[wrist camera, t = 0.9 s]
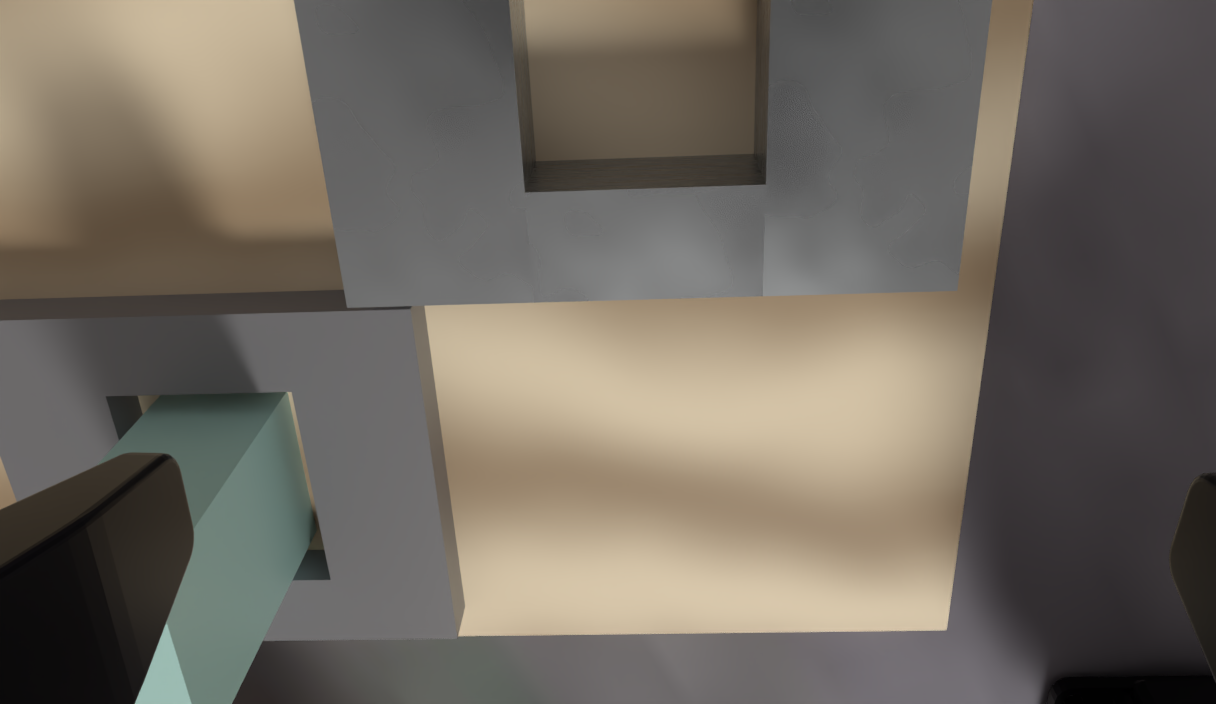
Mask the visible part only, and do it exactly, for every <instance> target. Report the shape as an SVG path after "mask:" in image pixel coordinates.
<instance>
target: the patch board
mask: <svg viewBox="0 0 1216 704" xmlns="http://www.w3.org/2000/svg"><path fill="white" fill-rule="evenodd" d="M1033 1H1034V0H992V7H991V15H990V24H989V32H988V40H987V49H986V57H985V65H984V73H983V82H982V90H981V98H980V107H979V115H978V123H977V131H976V140H975V148H974V156H973V165H972V173H971V181H970V189H969V198H968V206H967V214H966V222H965V231H964V239H963V247H962V256H961V264H960V272H959V280H958V289H957V291H936V292H900V293H864V294H828V295H792V296H756V297H720V298H684V299H648V300H612V301H576V302H540V303H504V304H468V305H432V306H424V307H425V315H426V322H427V329H428V337H429V344H430V351H431V359H432V366H433V373H434V381H435V388H436V395H437V403H438V410H439V418H440V425H441V432H442V440H443V447H444V454H445V462H446V469H447V476H448V484H449V491H450V498H451V506H452V513H453V520H454V528H455V535H456V543H457V550H458V557H459V565H460V572H461V579H462V587H463V594H464V601H465V609H464V614H463V618H462V622H461V626H460V630H459V635H458V636H514V635H598V634H681V633H765V632H849V631H932V630H947V623H948V616H949V609H950V602H951V594H952V587H953V580H954V573H955V565H956V558H957V551H958V544H959V536H960V529H961V522H962V515H963V507H964V500H965V493H966V486H967V478H968V471H969V464H970V457H971V449H972V442H973V435H974V428H975V421H976V413H977V406H978V399H979V392H980V384H981V377H982V370H983V363H984V355H985V348H986V341H987V334H988V326H989V319H990V312H991V305H992V297H993V290H994V283H995V276H996V268H997V261H998V254H999V247H1000V240H1001V232H1002V225H1003V218H1004V211H1005V203H1006V196H1007V189H1008V182H1009V174H1010V167H1011V160H1012V153H1013V145H1014V138H1015V131H1016V124H1017V116H1018V109H1019V102H1020V95H1021V87H1022V80H1023V73H1024V66H1025V59H1026V51H1027V44H1028V37H1029V30H1030V22H1031V15H1032V8H1033ZM524 9H525V23H526V36H527V49H528V62H529V75H530V88H531V101H532V114H533V127H534V140H535V153H536V161H558V160H587V159H616V158H645V157H674V156H703V155H732V154H754V123H755V77H756V31H757V0H524ZM318 290H344V287H343V281H342V276H341V270H340V264H339V258H338V253H337V247H336V241H335V235H334V230H333V224H332V218H331V212H330V207H329V201H328V195H327V189H326V183H325V178H324V172H323V166H322V160H321V155H320V149H319V143H318V137H317V132H316V126H315V120H314V114H313V109H312V103H311V97H310V91H309V85H308V80H307V74H306V68H305V62H304V57H303V51H302V45H301V39H300V34H299V28H298V22H297V16H296V11H295V5H294V0H0V300H4V299H39V298H74V297H108V296H143V295H178V294H213V293H248V292H283V291H318ZM159 396H160V395H142V396H138V399H139V402H140V406H141V409H142V413H143V414H144V413H145V412H146V411H147V410H148V408H149V407H150V406H151V405H152V404H153V403H154V402H155V401H156V400H157V399H158V398H159ZM288 396H289V401H290V406H291V411H292V415H293V420H294V425H295V430H296V434H297V439H298V444H299V449H300V453H301V458H302V463H303V468H304V472H305V477H306V482H307V487H308V491H309V496H310V501H311V506H312V510H313V515H314V520H315V524H316V529H317V531H316V533H315V535H314V537H313V539H312V541H311V543H310V545H309V547H308V549H307V550H324V545H323V540H322V536H321V531H320V526H319V521H318V516H317V512H316V507H315V502H314V497H313V493H312V488H311V483H310V478H309V473H308V469H307V464H306V459H305V454H304V449H303V445H302V440H301V435H300V430H299V426H298V421H297V416H296V411H295V406H294V402H293V397H292V392H288ZM15 502H17V501H16V498H15V495H14V493H13V490H12V487H11V485H10V482H9V479H8V476H7V474H6V471H5V468H4V465H3V463H2V460H1V457H0V509H2V508H4V507H7V506H9V505H11V504H13V503H15Z"/></svg>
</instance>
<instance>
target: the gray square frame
mask: <svg viewBox="0 0 1216 704" xmlns="http://www.w3.org/2000/svg"><path fill="white" fill-rule="evenodd" d="M268 392H292V397H293V402H294V406H295V411H296V416H297V421H298V426H299V430H300V435H301V440H302V445H303V449H304V454H305V459H306V464H307V469H308V473H309V478H310V483H311V488H312V493H313V497H314V502H315V507H316V512H317V516H318V521H319V526H320V531H321V536H322V540H323V545H324V550H307V551H306V553H305V556H304V558H303V560H302V562H301V564H300V566H299V568H298V570H297V572H296V574H295V576H294V578H293V580H292V582H291V584H290V586H289V588H288V590H287V592H286V594H285V596H284V598H283V600H282V602H281V605H280V607H279V609H278V611H277V613H276V615H275V617H274V619H273V621H272V623H271V625H270V627H269V629H268V631H267V633H266V635H265V637H264V639H263V641H304V640H388V639H458V635H459V630H460V626H461V622H462V618H463V614H464V609H465V601H464V594H463V587H462V579H461V572H460V565H459V557H458V550H457V543H456V535H455V528H454V520H453V513H452V506H451V498H450V491H449V484H448V476H447V469H446V462H445V454H444V447H443V440H442V432H441V425H440V418H439V410H438V403H437V395H436V388H435V381H434V373H433V366H432V359H431V351H430V344H429V337H428V329H427V322H426V315H425V307H424V306H396V307H360V308H347V305H346V299H345V293H344V290H318V291H283V292H248V293H213V294H178V295H143V296H108V297H74V298H39V299H4V300H0V457H1V460H2V463H3V465H4V468H5V471H6V474H7V476H8V479H9V482H10V485H11V487H12V490H13V493H14V495H15V498H16V501H17V502H18V501H20V500H22V499H24V498H26V497H29V496H31V495H33V494H35V493H37V492H40V491H42V490H44V489H46V488H48V487H51V486H53V485H55V484H57V483H59V482H62V481H64V480H66V479H68V478H70V477H73V476H75V475H77V474H79V473H81V472H84V471H86V470H88V469H90V468H92V467H95V466H97V465H98V463H99V462H100V461H101V460H102V459H103V458H104V457H105V456H106V455H107V454H108V452H109V451H110V450H111V449H112V448H113V447H114V446H115V445H116V444H117V443H118V441H119V440H120V439H121V438H122V437H123V436H124V435H125V434H126V433H127V432H128V430H129V429H130V428H131V427H132V426H133V425H134V424H135V423H136V422H137V421H138V419H139V418H140V417H141V416H142V415H143V413H142V409H141V406H140V402H139V399H138V396H142V395H184V394H226V393H268Z"/></svg>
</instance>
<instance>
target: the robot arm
mask: <svg viewBox="0 0 1216 704" xmlns="http://www.w3.org/2000/svg"><path fill="white" fill-rule="evenodd" d="M193 546H194V529H193V523H192V519H191V514H190V510H189V505H188V501H187V496H186V492H185V487H184V483H183V478H182V474H181V470H180V467H179V464H178V463H177V461H176V459H175V458H173V457H172V456H171V455H169V454H166V453H137V452H130V453H124V454H121V455H119V456H117V457H114V458H112V459H110V460H108V461H106V462H103V463H101V464H99V465H97V466H95V467H92V468H90V469H88V470H86V471H84V472H81V473H79V474H77V475H75V476H73V477H70V478H68V479H66V480H64V481H62V482H59V483H57V484H55V485H53V486H51V487H48V488H46V489H44V490H42V491H40V492H37V493H35V494H33V495H31V496H29V497H26V498H24V499H22V500H20V501H18V502H15V503H13V504H11V505H9V506H7V507H4V508H2V509H0V704H135V702H136V700H137V697H138V695H139V692H140V690H141V688H142V685H143V683H144V680H145V678H146V675H147V673H148V670H149V667H150V665H151V662H152V659H153V657H154V654H155V651H156V649H157V646H158V643H159V641H160V638H161V635H162V633H163V630H164V627H165V625H166V622H167V620H168V617H169V614H170V612H171V609H172V606H173V604H174V601H175V598H176V596H177V593H178V590H179V588H180V585H181V582H182V580H183V577H184V574H185V572H186V569H187V566H188V564H189V561H190V558H191V555H192V551H193ZM1169 563H1170V571H1171V575H1172V578H1173V581H1174V584H1175V586H1176V588H1177V591H1178V593H1179V596H1180V598H1181V600H1182V603H1183V605H1184V608H1185V610H1186V612H1187V615H1188V617H1189V620H1190V622H1191V624H1192V627H1193V629H1194V632H1195V634H1196V637H1197V639H1198V641H1199V644H1200V646H1201V649H1202V651H1203V653H1204V656H1205V658H1206V661H1207V663H1208V665H1209V668H1210V670H1211V673H1212V675H1213V676H1137V677H1068V678H1063V679H1061V680H1059V681H1057V682H1055V683H1054V684H1053V685H1052V687H1051V689H1050V691H1049V695H1048V700H1047V704H1216V473H1203V474H1201V475H1200V476H1198V477H1196V478H1195V479H1194V480H1193V482H1192V483H1191V485H1190V487H1189V490H1188V492H1187V496H1186V499H1185V502H1184V505H1183V509H1182V512H1181V515H1180V518H1179V522H1178V525H1177V528H1176V531H1175V535H1174V538H1173V541H1172V545H1171V549H1170V556H1169ZM1071 695H1073V696H1072V697H1069V696H1071ZM1067 697H1068V698H1067Z"/></svg>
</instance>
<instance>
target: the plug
mask: <svg viewBox="0 0 1216 704" xmlns="http://www.w3.org/2000/svg"><path fill="white" fill-rule="evenodd" d="M130 452H137V453H166V454H169V455H171V456H172V457H173V458H175V459H176V461H177V463H178V464H179V467H180V470H181V474H182V478H183V483H184V487H185V492H186V496H187V501H188V505H189V510H190V514H191V519H192V523H193V529H194V546H193V551H192V555H191V558H190V561H189V564H188V566H187V569H186V572H185V574H184V577H183V580H182V582H181V585H180V588H179V590H178V593H177V596H176V598H175V601H174V604H173V606H172V609H171V612H170V614H169V617H168V620H167V622H166V625H165V627H164V630H163V633H162V635H161V638H160V641H159V643H158V646H157V649H156V651H155V654H154V657H153V659H152V662H151V665H150V667H149V670H148V673H147V675H146V678H145V680H144V683H143V685H142V688H141V690H140V692H139V695H138V697H137V700H136V702H135V704H232V703H233V700H234V698H235V696H236V694H237V692H238V690H239V688H240V686H241V684H242V682H243V680H244V678H245V676H246V674H247V672H248V670H249V668H250V666H251V664H252V662H253V660H254V658H255V656H256V654H257V651H258V649H259V647H260V645H261V643H262V641H263V639H264V637H265V635H266V633H267V631H268V629H269V627H270V625H271V623H272V621H273V619H274V617H275V615H276V613H277V611H278V609H279V607H280V605H281V602H282V600H283V598H284V596H285V594H286V592H287V590H288V588H289V586H290V584H291V582H292V580H293V578H294V576H295V574H296V572H297V570H298V568H299V566H300V564H301V562H302V560H303V558H304V556H305V553H306V551H307V549H308V547H309V545H310V543H311V541H312V539H313V537H314V535H315V533H316V531H317V529H316V524H315V520H314V515H313V510H312V506H311V501H310V496H309V491H308V487H307V482H306V477H305V472H304V468H303V463H302V458H301V453H300V449H299V444H298V439H297V434H296V430H295V425H294V420H293V415H292V411H291V406H290V401H289V396H288V392H268V393H226V394H184V395H160V396H159V398H158V399H157V400H156V401H155V402H154V403H153V404H152V405H151V406H150V407H149V408H148V410H147V411H146V412H145V413H144V414H143V415H142V416H141V417H140V418H139V419H138V421H137V422H136V423H135V424H134V425H133V426H132V427H131V428H130V429H129V430H128V432H127V433H126V434H125V435H124V436H123V437H122V438H121V439H120V440H119V441H118V443H117V444H116V445H115V446H114V447H113V448H112V449H111V450H110V451H109V452H108V454H107V455H106V456H105V457H104V458H103V459H102V460H101V461H100V462H99V463H98V465H99V464H101V463H103V462H106V461H108V460H110V459H112V458H114V457H117V456H119V455H121V454H124V453H130Z"/></svg>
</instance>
